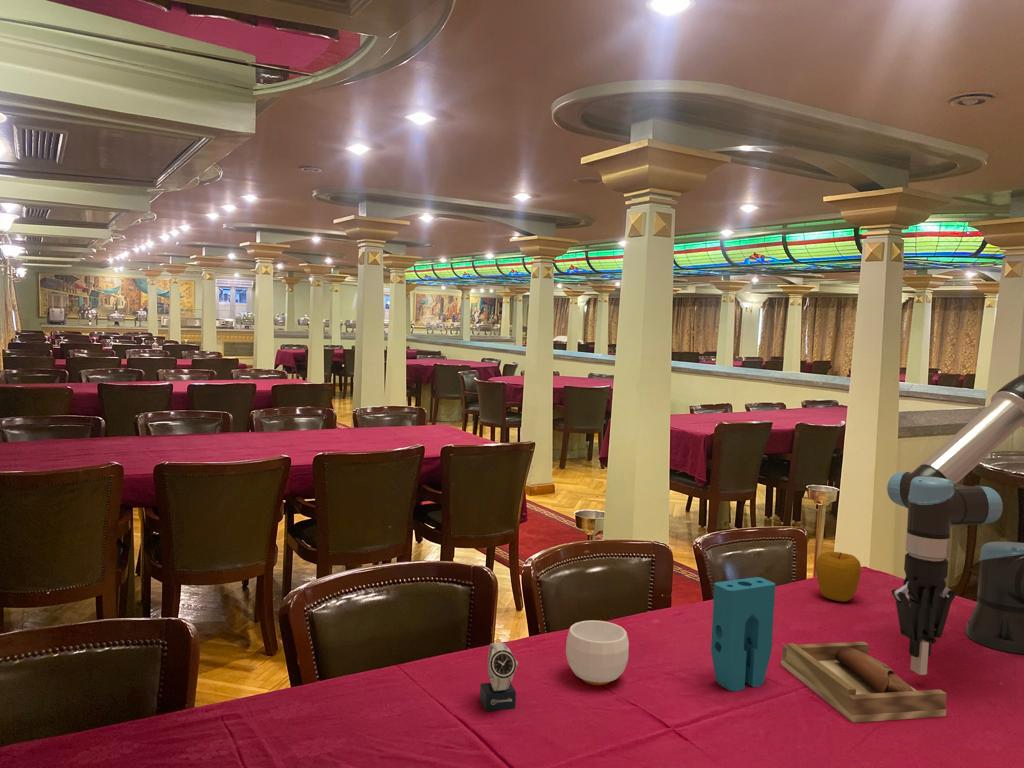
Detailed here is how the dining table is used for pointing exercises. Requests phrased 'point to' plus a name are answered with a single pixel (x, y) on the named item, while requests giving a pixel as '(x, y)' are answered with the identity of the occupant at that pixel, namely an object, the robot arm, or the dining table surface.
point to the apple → (838, 575)
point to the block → (742, 631)
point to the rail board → (856, 686)
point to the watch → (499, 679)
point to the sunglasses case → (871, 671)
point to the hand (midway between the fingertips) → (918, 671)
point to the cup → (597, 651)
